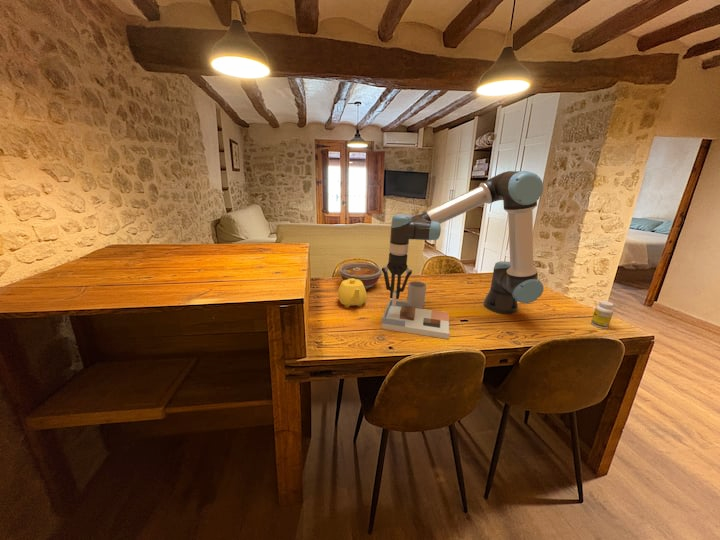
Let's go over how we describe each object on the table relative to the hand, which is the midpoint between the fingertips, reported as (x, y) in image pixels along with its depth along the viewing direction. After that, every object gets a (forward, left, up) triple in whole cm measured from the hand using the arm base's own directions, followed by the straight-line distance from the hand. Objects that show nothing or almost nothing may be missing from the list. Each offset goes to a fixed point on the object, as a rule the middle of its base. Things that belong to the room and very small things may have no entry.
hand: (393, 305), depth 130 cm
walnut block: (-6, 0, -5) cm, 8 cm away
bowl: (+24, -34, -7) cm, 42 cm away
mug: (-8, -20, -7) cm, 23 cm away
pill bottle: (-89, -23, -7) cm, 92 cm away
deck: (-10, 0, -7) cm, 12 cm away
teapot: (+21, -9, -7) cm, 24 cm away
